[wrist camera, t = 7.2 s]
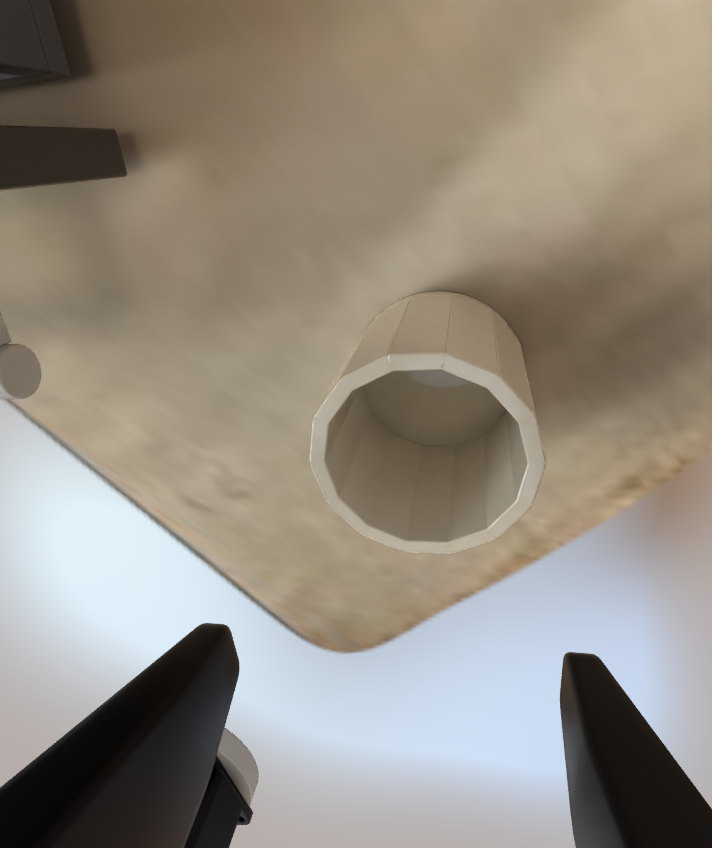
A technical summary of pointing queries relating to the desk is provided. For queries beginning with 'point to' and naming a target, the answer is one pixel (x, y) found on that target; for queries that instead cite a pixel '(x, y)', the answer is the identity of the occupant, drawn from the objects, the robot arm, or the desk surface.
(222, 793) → the robot arm
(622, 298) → the desk surface
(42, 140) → the drawer
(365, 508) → the container
